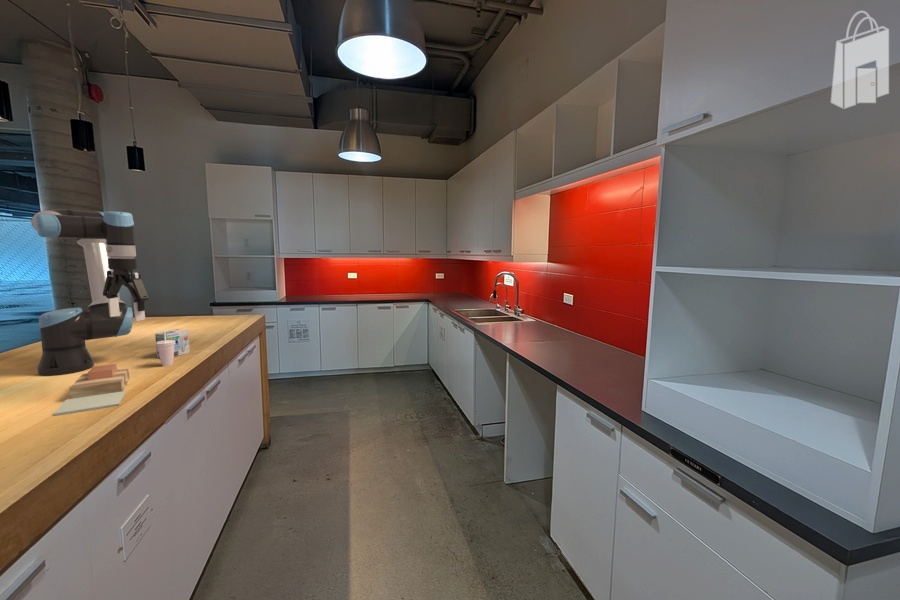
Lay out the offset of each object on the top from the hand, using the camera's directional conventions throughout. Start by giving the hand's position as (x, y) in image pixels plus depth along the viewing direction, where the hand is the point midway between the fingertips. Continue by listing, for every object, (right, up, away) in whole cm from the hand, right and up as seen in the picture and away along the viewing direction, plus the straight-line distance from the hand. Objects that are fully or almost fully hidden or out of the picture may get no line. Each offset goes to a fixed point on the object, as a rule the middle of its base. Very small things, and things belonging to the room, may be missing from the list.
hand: (127, 318), depth 131 cm
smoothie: (-2, -20, +21) cm, 30 cm away
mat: (+4, -25, -17) cm, 31 cm away
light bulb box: (-10, -18, +35) cm, 41 cm away
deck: (-4, -24, -6) cm, 24 cm away
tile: (-5, -19, -4) cm, 20 cm away
